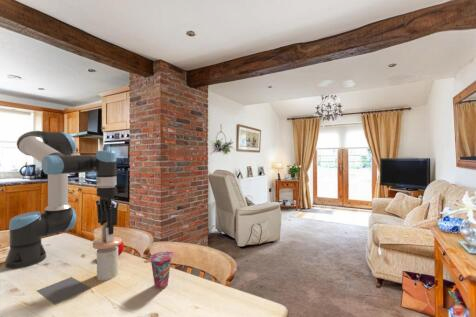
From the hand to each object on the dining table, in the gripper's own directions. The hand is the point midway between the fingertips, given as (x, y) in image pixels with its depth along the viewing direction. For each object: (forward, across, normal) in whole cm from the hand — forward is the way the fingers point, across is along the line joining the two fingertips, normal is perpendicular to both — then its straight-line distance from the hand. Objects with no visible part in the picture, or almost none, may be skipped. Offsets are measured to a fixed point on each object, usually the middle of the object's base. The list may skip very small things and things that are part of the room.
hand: (107, 240), depth 103 cm
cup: (+16, +25, +8) cm, 31 cm away
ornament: (+16, -17, +13) cm, 27 cm away
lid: (+2, 0, 0) cm, 2 cm away
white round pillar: (+16, 0, 0) cm, 16 cm away
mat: (+16, -4, -15) cm, 22 cm away
